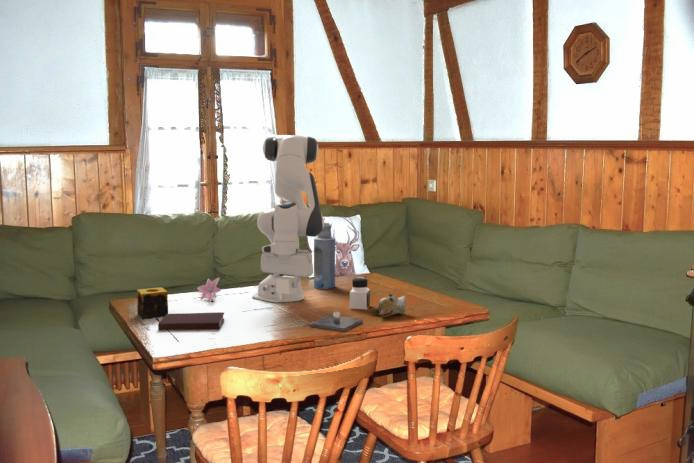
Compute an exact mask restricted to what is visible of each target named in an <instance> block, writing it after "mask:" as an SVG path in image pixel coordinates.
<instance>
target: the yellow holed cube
mask: <svg viewBox="0 0 694 463" xmlns="http://www.w3.org/2000/svg"><path fill="white" fill-rule="evenodd" d="M136 294H137V296H136V297H137V304H136V306H137V311H136V312H137V315H138V317H140V318H141V320H147V319H148V320H150V319H159V318H163V317H164V316H165V315H166V314H169V302H168V301H169V299H168V298H169V297H168V290H166V289H165V288H163V287H160V286H159V287H149V288H139V289H136Z"/></svg>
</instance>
